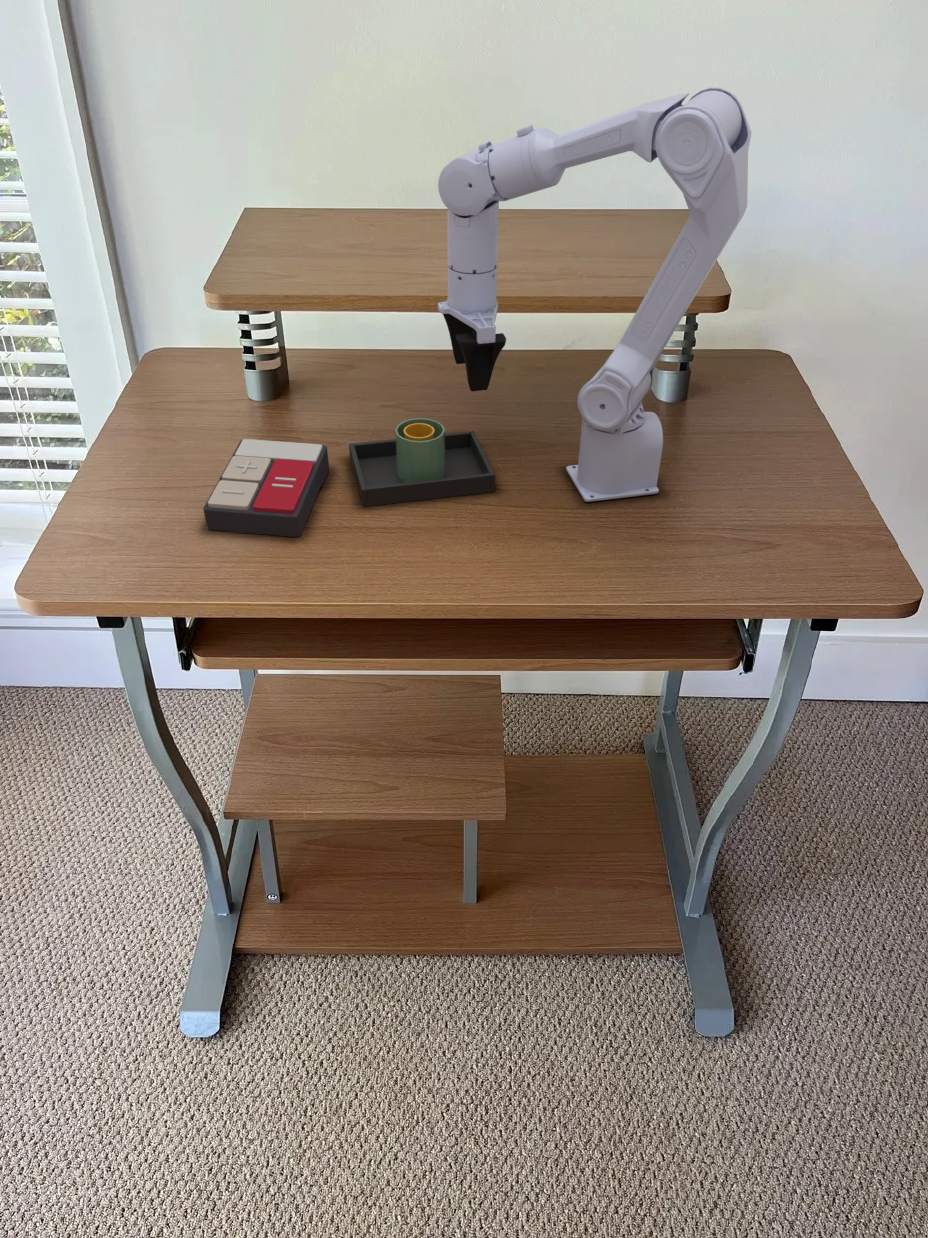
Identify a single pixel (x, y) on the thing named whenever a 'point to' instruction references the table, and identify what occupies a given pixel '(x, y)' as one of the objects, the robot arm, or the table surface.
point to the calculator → (267, 488)
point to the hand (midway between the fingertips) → (471, 375)
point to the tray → (461, 477)
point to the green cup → (420, 453)
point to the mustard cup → (419, 432)
